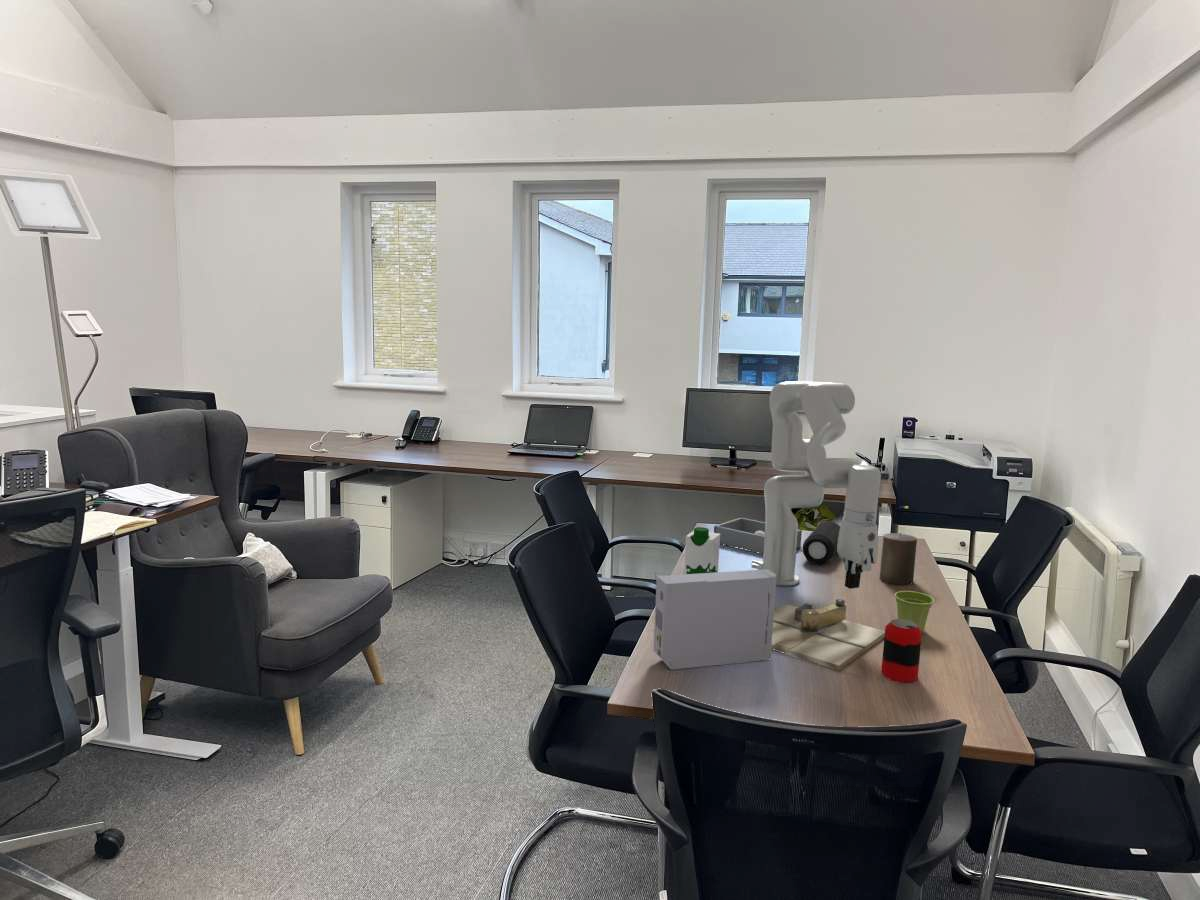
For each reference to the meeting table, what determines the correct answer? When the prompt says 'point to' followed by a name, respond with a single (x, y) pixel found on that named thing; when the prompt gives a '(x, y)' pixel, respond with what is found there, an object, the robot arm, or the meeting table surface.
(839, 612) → the swing bar
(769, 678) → the meeting table surface
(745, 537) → the organiser frame
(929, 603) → the plant pot
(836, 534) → the portable speaker
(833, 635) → the lock board
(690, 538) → the milk carton
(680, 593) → the game console
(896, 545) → the pillar candle
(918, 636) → the soda can
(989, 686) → the meeting table surface
